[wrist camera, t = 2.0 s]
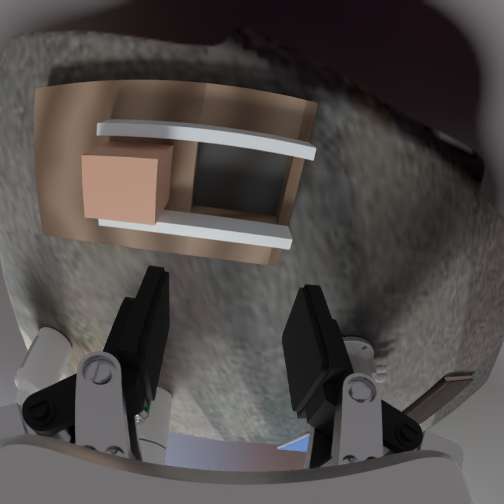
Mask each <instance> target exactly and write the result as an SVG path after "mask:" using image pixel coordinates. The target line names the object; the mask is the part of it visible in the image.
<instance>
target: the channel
mask: <svg viewBox="0 0 504 504" xmlns="http://www.w3.org/2000/svg"><path fill="white" fill-rule="evenodd" d="M97 135H99V136H134V137H152V138H166V139H177V140H188V141H198V142H206V143H215V144H222V145H230V146H237V147H243V148H250V149H256V150H262V151H268V152H273V153H279V154H284V155H289V156H294V157H299V158H304V159H309V160H314V156H315V152H316V147H314V146H313V145H312V144H310V143H309V142H305V141H301V140H296V139H291V138H286V137H281V136H276V135H271V134H265V133H259V132H253V131H247V130H241V129H234V128H227V127H219V126H211V125H202V124H193V123H182V122H169V121H153V120H127V119H109V120H106V121H103V122H100V123H97ZM98 220H99V225H100V226H108V227H117V228H125V229H133V230H141V231H149V232H157V233H165V234H173V235H181V236H189V237H197V238H205V239H213V240H221V241H228V242H236V243H244V244H251V245H259V246H267V247H274V248H282V249H289V250H290V247H291V243H292V237H291V234H290V231H289V228H288V226H283V225H276V224H269V223H263V222H256V221H248V220H241V219H234V218H226V217H219V216H211V215H203V214H195V213H187V212H179V211H171V210H163V212H162V213H161V215H160V217H159V219H158V221H157V223H156V224H155V225H147V224H139V223H130V222H122V221H113V220H104V219H98Z"/></svg>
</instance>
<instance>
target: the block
mask: <svg viewBox="0 0 504 504" xmlns="http://www.w3.org/2000/svg"><path fill="white" fill-rule="evenodd" d="M173 146H174V145H165V144H152V143H136V142H112V141H109V142H106V143H104V144H102V145H100V146H98V147H96V148H94V149H92V150H91V151H89V152H87V153H85V154H83V155H82V187H83V202H84V214H85V217H86V218H95V219H104V220H113V221H122V222H130V223H139V224H147V225H155V224H156V223H157V221H158V219H159V217H160V215H161V213H162V212H163V210H164V208H165V206H166V205H167V203H168V201H169V194H170V179H171V167H172V156H173Z"/></svg>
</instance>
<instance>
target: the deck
mask: <svg viewBox="0 0 504 504" xmlns="http://www.w3.org/2000/svg"><path fill="white" fill-rule="evenodd" d="M317 105H318V103H316V102H312V101H308V100H304V99H299V98H295V97H290V96H286V95H281V94H276V93H271V92H266V91H260V90H254V89H248V88H242V87H235V86H227V85H219V84H210V83H200V82H187V81H171V80H109V81H92V82H81V83H71V84H63V85H55V86H48V87H42V88H36V89H35V104H34V156H35V172H36V183H37V193H38V201H39V208H40V215H41V221H42V227H43V233H44V235H46V236H53V237H60V238H67V239H74V240H81V241H88V242H95V243H102V244H109V245H117V246H124V247H131V248H139V249H146V250H154V251H161V252H169V253H177V254H184V255H192V256H200V257H208V258H216V259H224V260H232V261H240V262H248V263H256V264H264V265H273V266H277V265H278V262H279V258H280V254H281V251H282V248H274V247H267V246H259V245H251V244H244V243H236V242H228V241H221V240H213V239H205V238H197V237H189V236H181V235H173V234H165V233H157V232H149V231H141V230H133V229H125V228H117V227H108V226H100V225H99V220H98V219H95V218H86V217H85V214H84V202H83V187H82V155H83V154H85V153H87V152H89V151H91V150H92V149H94V148H96V147H98V146H100V145H102V144H104V143H106V142H109V141H112V142H136V143H152V144H165V145H174V146H173V156H172V167H171V179H170V194H169V201H168V203H167V205H166V206H165V208H164V210H171V211H179V212H187V213H195V214H203V215H211V216H219V217H226V218H234V219H241V220H248V221H256V222H263V223H269V224H276V225H283V226H288V224H289V220H290V217H291V213H292V209H293V205H294V201H295V197H296V193H297V189H298V185H299V181H300V177H301V173H302V169H303V165H304V161H305V159H304V158H299V157H294V156H289V155H284V154H279V153H273V152H268V151H262V150H256V149H250V148H243V147H237V146H230V145H222V144H215V143H206V142H198V141H188V140H177V139H166V138H152V137H134V136H99V135H97V123H100V122H103V121H106V120H109V119H127V120H153V121H169V122H182V123H193V124H202V125H211V126H219V127H227V128H234V129H241V130H247V131H253V132H259V133H265V134H271V135H276V136H281V137H286V138H291V139H296V140H301V141H305V142H309V140H310V135H311V131H312V127H313V123H314V118H315V114H316V109H317Z"/></svg>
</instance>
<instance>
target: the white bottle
mask: <svg viewBox="0 0 504 504" xmlns="http://www.w3.org/2000/svg"><path fill="white" fill-rule="evenodd" d="M71 351H72V347H71V344H70V343H69V341H68V340H67V339H66V337H65V336H63V335H62V334H61V333H60V332H58V331H56V330H55V329H52V328H50V327H43V328H41V329H40V330H39V332H38V333H37V335H36V337H35V339H34V341H33V342H32V344H31V346H30V348H29V350H28V352H27V354H26V356H25V358H24V360H23V362H22V364H21V366H20V368H19V370H18V372H17V374H16V377H15V384H16V386H17V387H18V389H19V392H18V394H17V396H16V400H15V403H18V404H19V405H21V404H23V403H24V401H25V400H26V398H27V397H28V396H30V395H31V394H33V393H35V392H37V391H39V390H42V389H44V388H46V387H48V386H50V385H53V384H55V383H57V382H59V381H60V378H61V376H62V373H63V371H64V369H65V366H66V364H67V361H68V359H69V357H70V354H71Z"/></svg>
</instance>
